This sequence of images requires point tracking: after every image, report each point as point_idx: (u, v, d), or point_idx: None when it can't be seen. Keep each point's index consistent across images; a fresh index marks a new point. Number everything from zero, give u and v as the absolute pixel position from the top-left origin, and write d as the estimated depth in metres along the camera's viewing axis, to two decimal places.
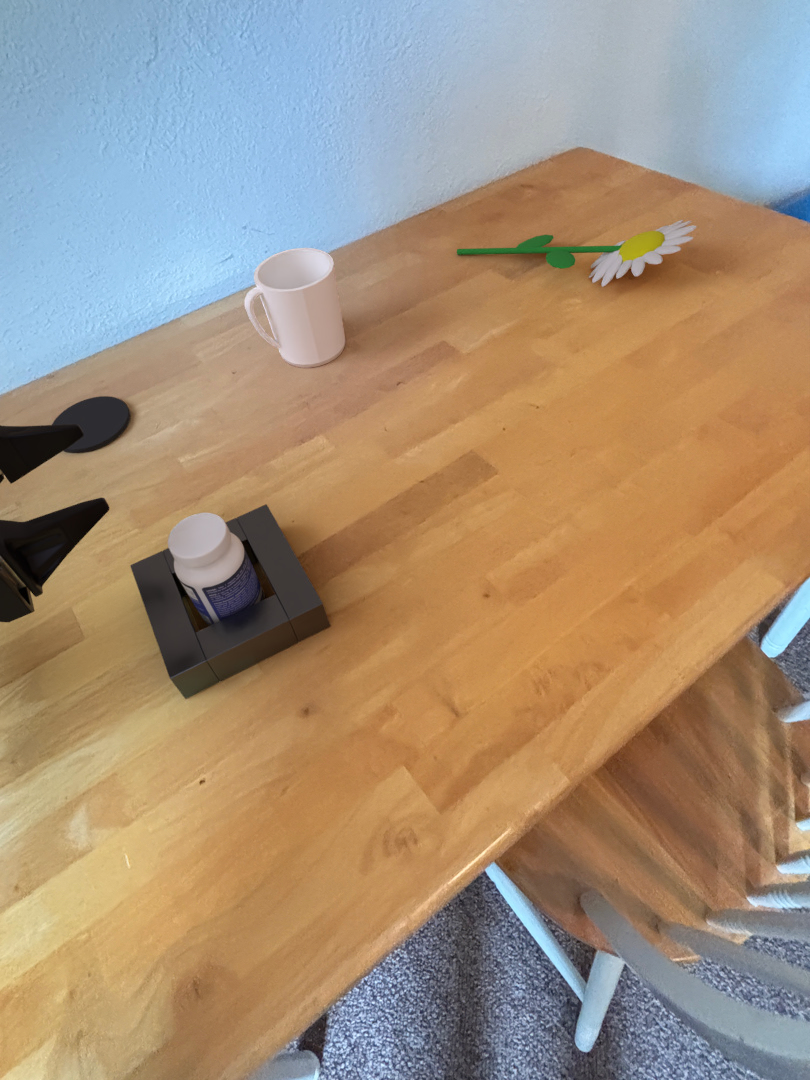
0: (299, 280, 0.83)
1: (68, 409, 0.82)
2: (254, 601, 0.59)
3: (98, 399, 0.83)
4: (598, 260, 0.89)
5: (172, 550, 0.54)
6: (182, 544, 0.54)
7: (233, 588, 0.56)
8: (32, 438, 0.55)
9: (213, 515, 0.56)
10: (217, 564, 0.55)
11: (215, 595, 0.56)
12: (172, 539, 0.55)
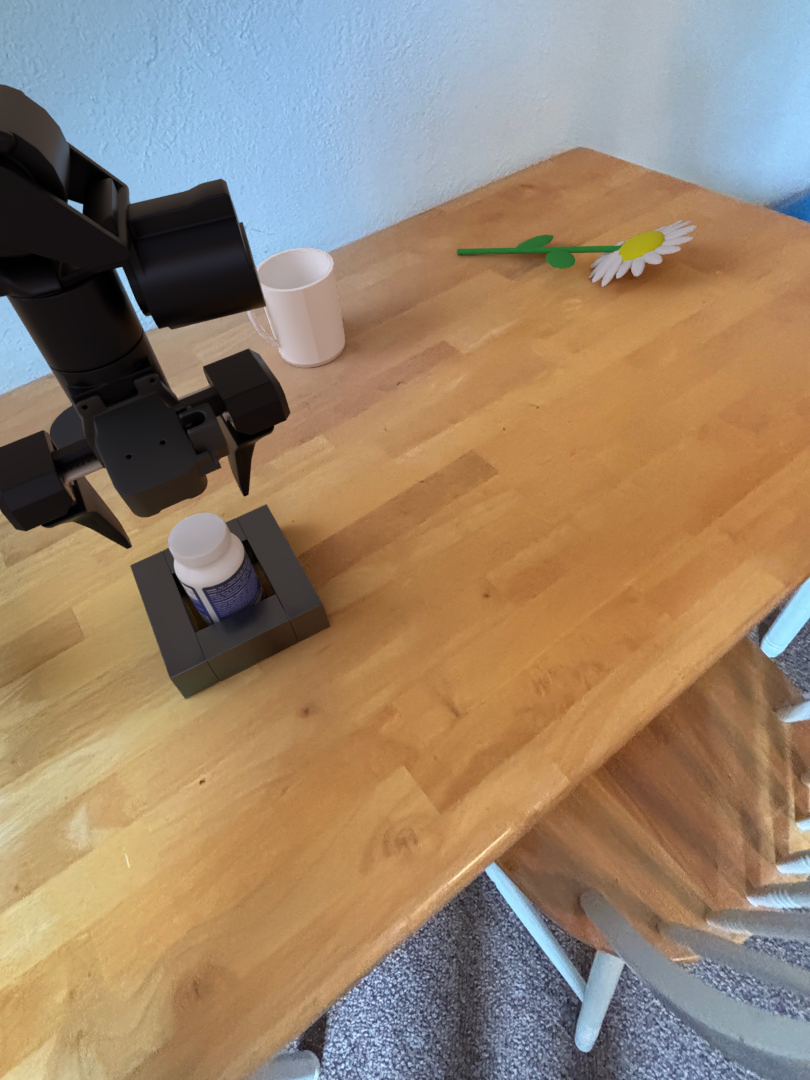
0: (299, 280, 0.83)
1: (68, 409, 0.82)
2: (254, 601, 0.59)
3: None
4: (598, 260, 0.89)
5: (172, 550, 0.54)
6: (182, 544, 0.54)
7: (233, 588, 0.56)
8: (234, 465, 0.51)
9: (213, 515, 0.56)
10: (217, 564, 0.55)
11: (215, 595, 0.56)
12: (172, 539, 0.55)
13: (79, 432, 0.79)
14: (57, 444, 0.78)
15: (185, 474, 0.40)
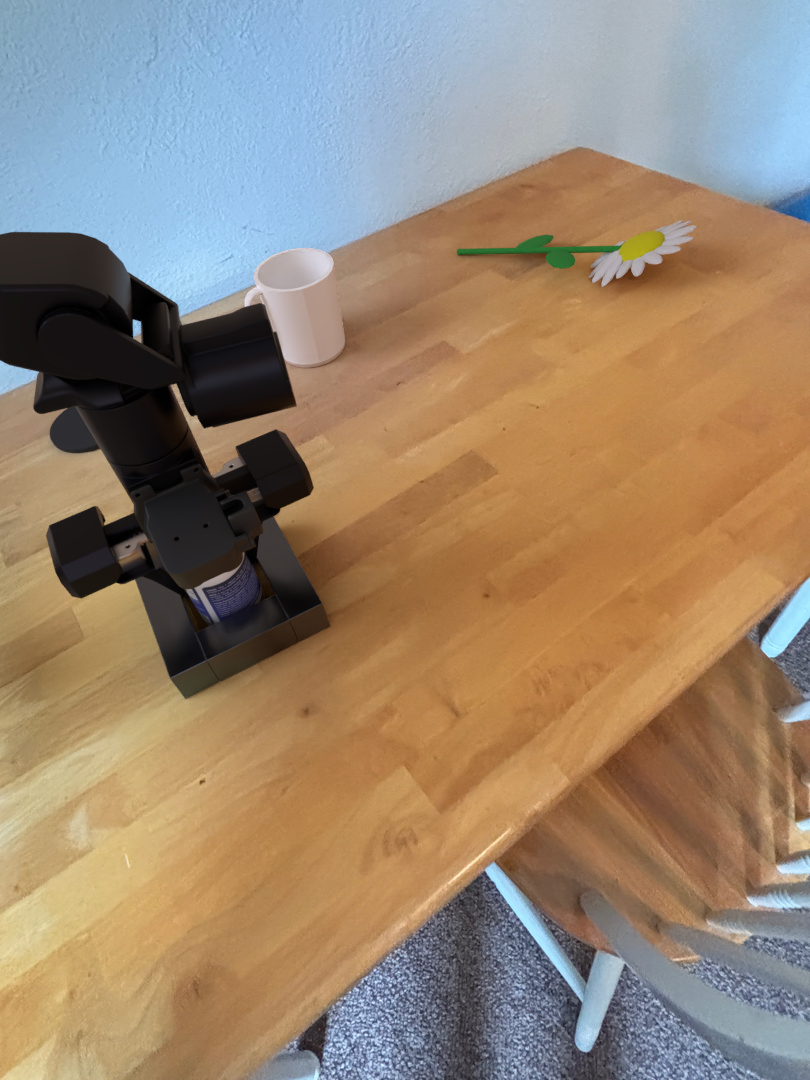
0: (299, 280, 0.83)
1: (68, 409, 0.82)
2: (254, 601, 0.59)
3: None
4: (598, 260, 0.89)
5: None
6: None
7: (233, 588, 0.56)
8: None
9: None
10: None
11: (215, 595, 0.56)
12: None
13: (79, 432, 0.79)
14: (57, 444, 0.78)
15: (225, 555, 0.45)
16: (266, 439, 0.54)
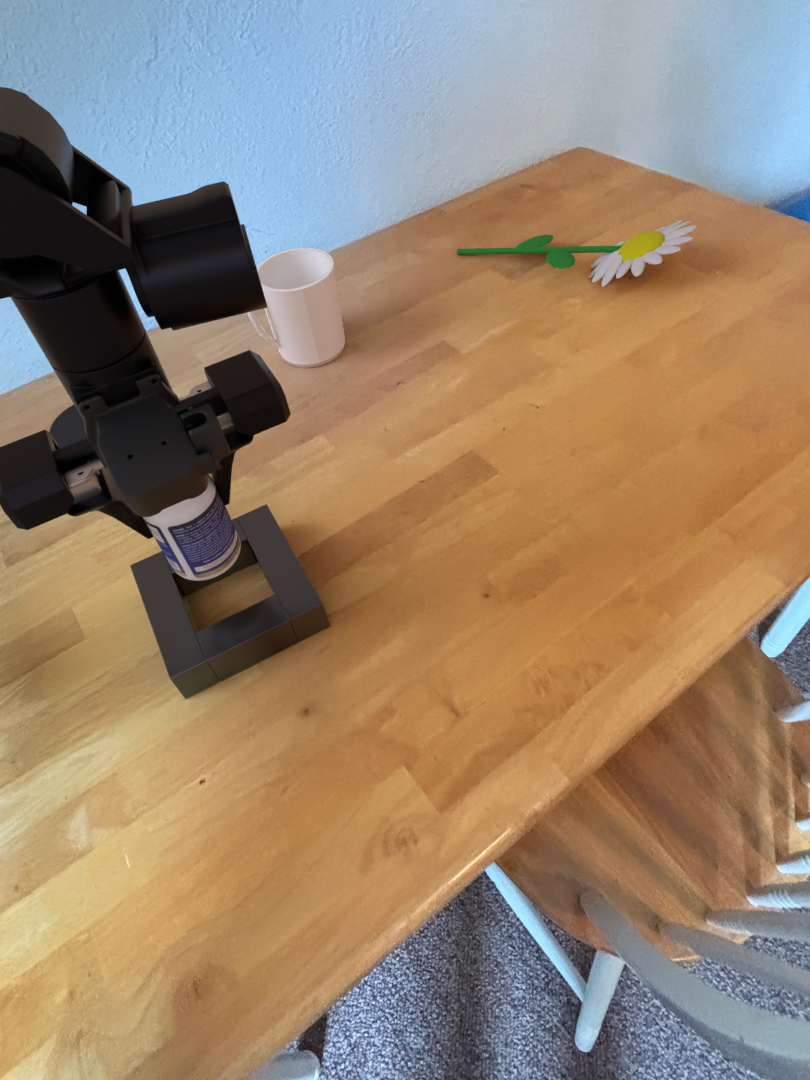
0: (299, 280, 0.83)
1: (68, 409, 0.82)
2: (228, 546, 0.54)
3: None
4: (598, 260, 0.89)
5: None
6: None
7: (203, 529, 0.51)
8: (215, 474, 0.51)
9: None
10: (184, 500, 0.50)
11: (182, 536, 0.51)
12: None
13: (79, 432, 0.79)
14: None
15: (185, 475, 0.40)
16: (238, 360, 0.48)
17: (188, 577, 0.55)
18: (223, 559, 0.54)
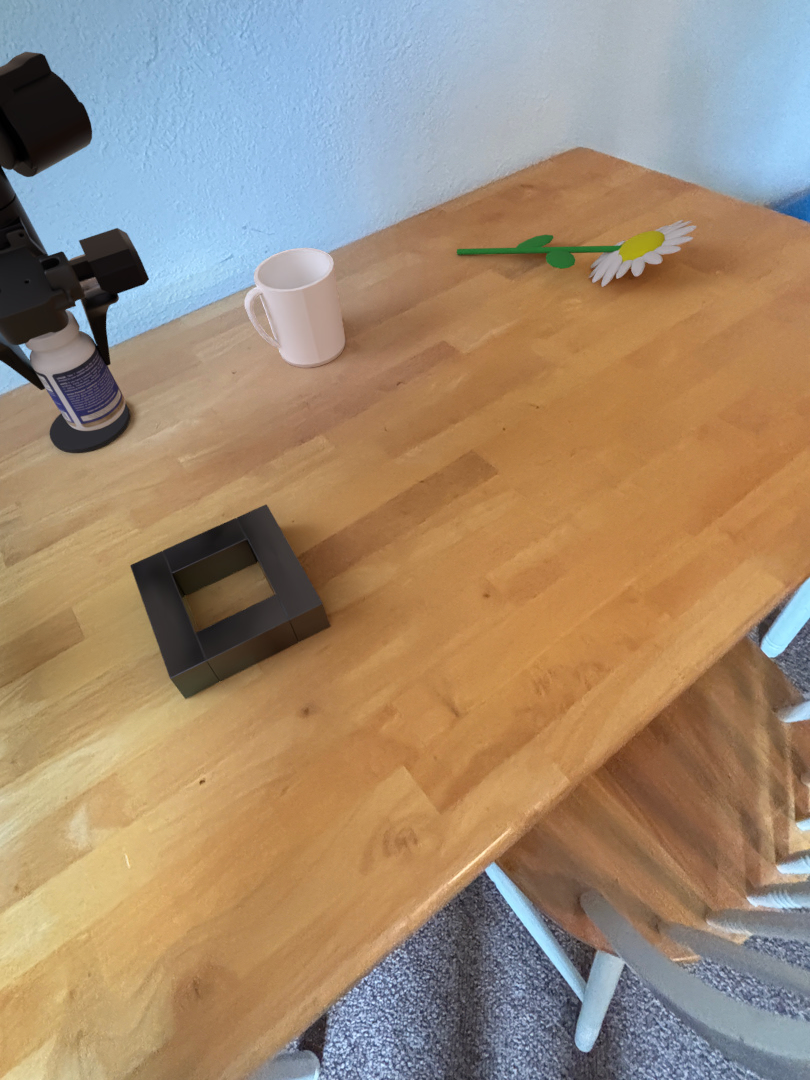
0: (299, 280, 0.83)
1: None
2: (110, 400, 0.65)
3: None
4: (598, 260, 0.89)
5: None
6: None
7: (83, 380, 0.62)
8: (93, 334, 0.62)
9: None
10: (64, 351, 0.61)
11: (66, 384, 0.62)
12: None
13: (79, 432, 0.79)
14: (57, 444, 0.78)
15: (42, 305, 0.51)
16: (106, 235, 0.59)
17: (77, 427, 0.66)
18: (105, 412, 0.65)
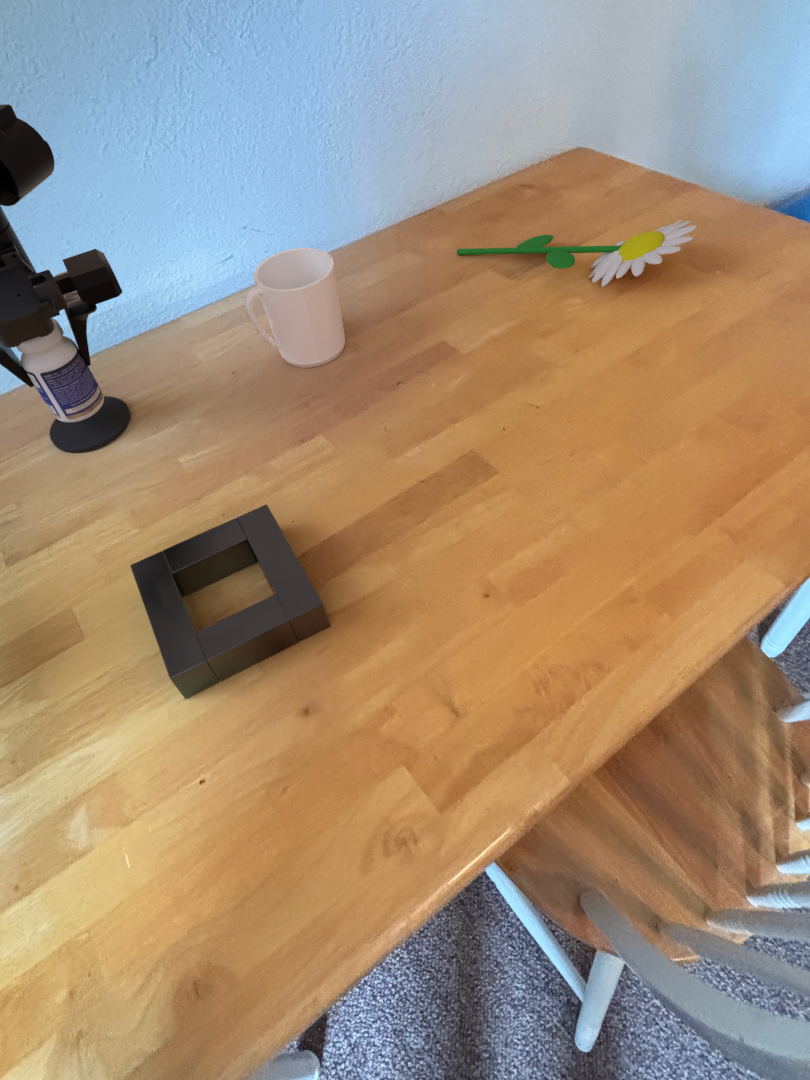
0: (299, 280, 0.83)
1: None
2: (90, 396, 0.76)
3: None
4: (598, 260, 0.89)
5: None
6: None
7: (67, 378, 0.73)
8: (75, 338, 0.72)
9: None
10: (50, 353, 0.71)
11: (52, 382, 0.72)
12: None
13: (79, 432, 0.79)
14: (57, 444, 0.78)
15: (31, 314, 0.62)
16: (86, 254, 0.70)
17: (62, 419, 0.76)
18: (86, 405, 0.76)
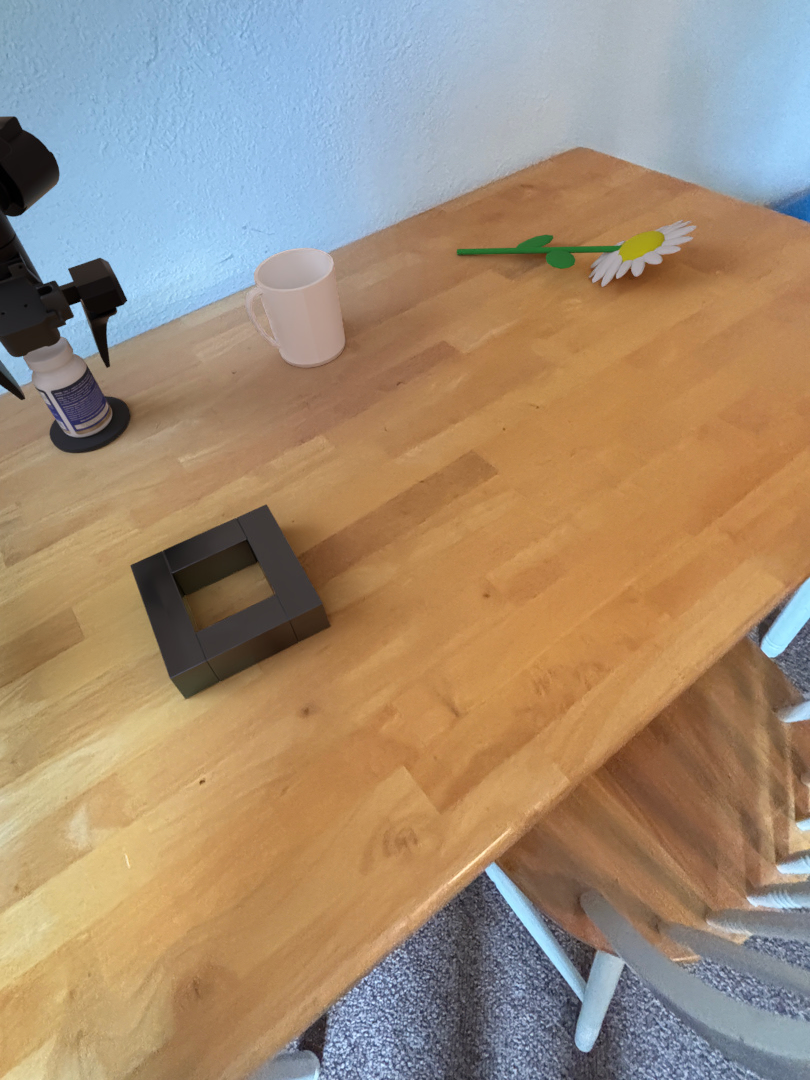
0: (299, 280, 0.83)
1: None
2: (99, 411, 0.77)
3: None
4: (598, 260, 0.89)
5: (25, 359, 0.72)
6: (33, 355, 0.72)
7: (77, 395, 0.74)
8: (95, 341, 0.74)
9: (60, 337, 0.74)
10: (61, 371, 0.73)
11: (62, 399, 0.74)
12: None
13: None
14: (57, 444, 0.78)
15: (38, 325, 0.63)
16: (91, 263, 0.71)
17: (72, 434, 0.78)
18: (95, 421, 0.77)
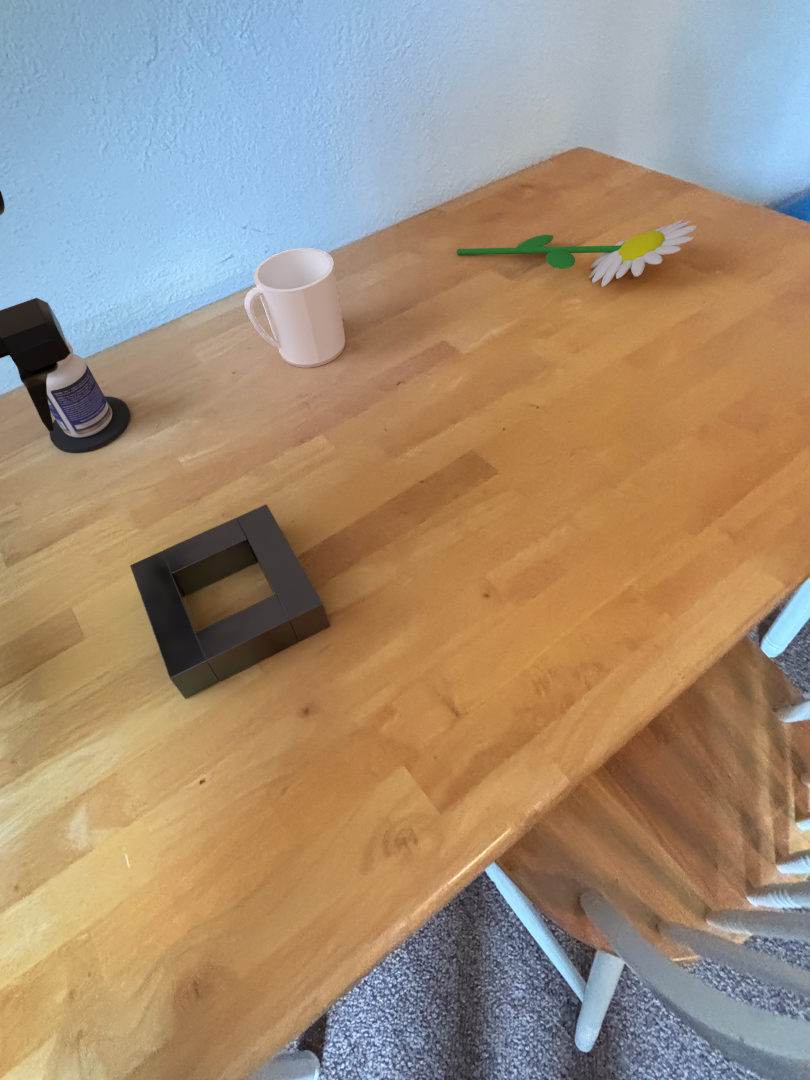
0: (299, 280, 0.83)
1: None
2: (99, 411, 0.77)
3: None
4: (598, 260, 0.89)
5: None
6: None
7: (77, 395, 0.74)
8: (33, 401, 0.58)
9: None
10: (61, 371, 0.73)
11: (62, 399, 0.74)
12: None
13: None
14: (57, 444, 0.78)
15: None
16: (24, 306, 0.55)
17: (72, 434, 0.78)
18: (95, 421, 0.77)
